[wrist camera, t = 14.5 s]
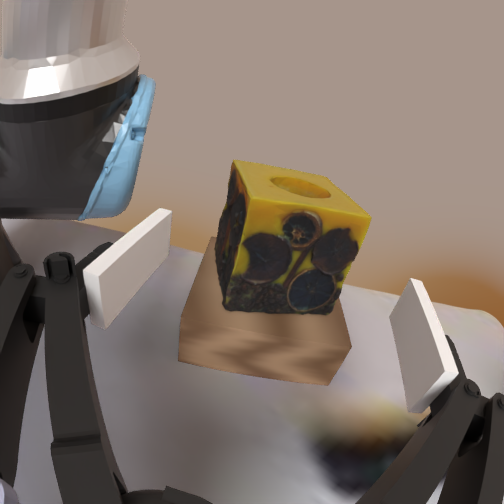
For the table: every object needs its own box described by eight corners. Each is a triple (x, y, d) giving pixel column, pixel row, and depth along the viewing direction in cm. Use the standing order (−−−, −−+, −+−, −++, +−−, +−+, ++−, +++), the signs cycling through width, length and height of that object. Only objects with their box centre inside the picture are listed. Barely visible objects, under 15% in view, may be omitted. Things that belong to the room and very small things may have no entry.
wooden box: (178, 364, 26) (180, 316, 23) (205, 278, 38) (211, 236, 35) (326, 388, 26) (351, 346, 24) (313, 300, 39) (328, 260, 36)
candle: (213, 249, 33) (229, 157, 28) (301, 257, 35) (326, 174, 30) (220, 314, 24) (244, 195, 19) (332, 317, 27) (375, 216, 22)
